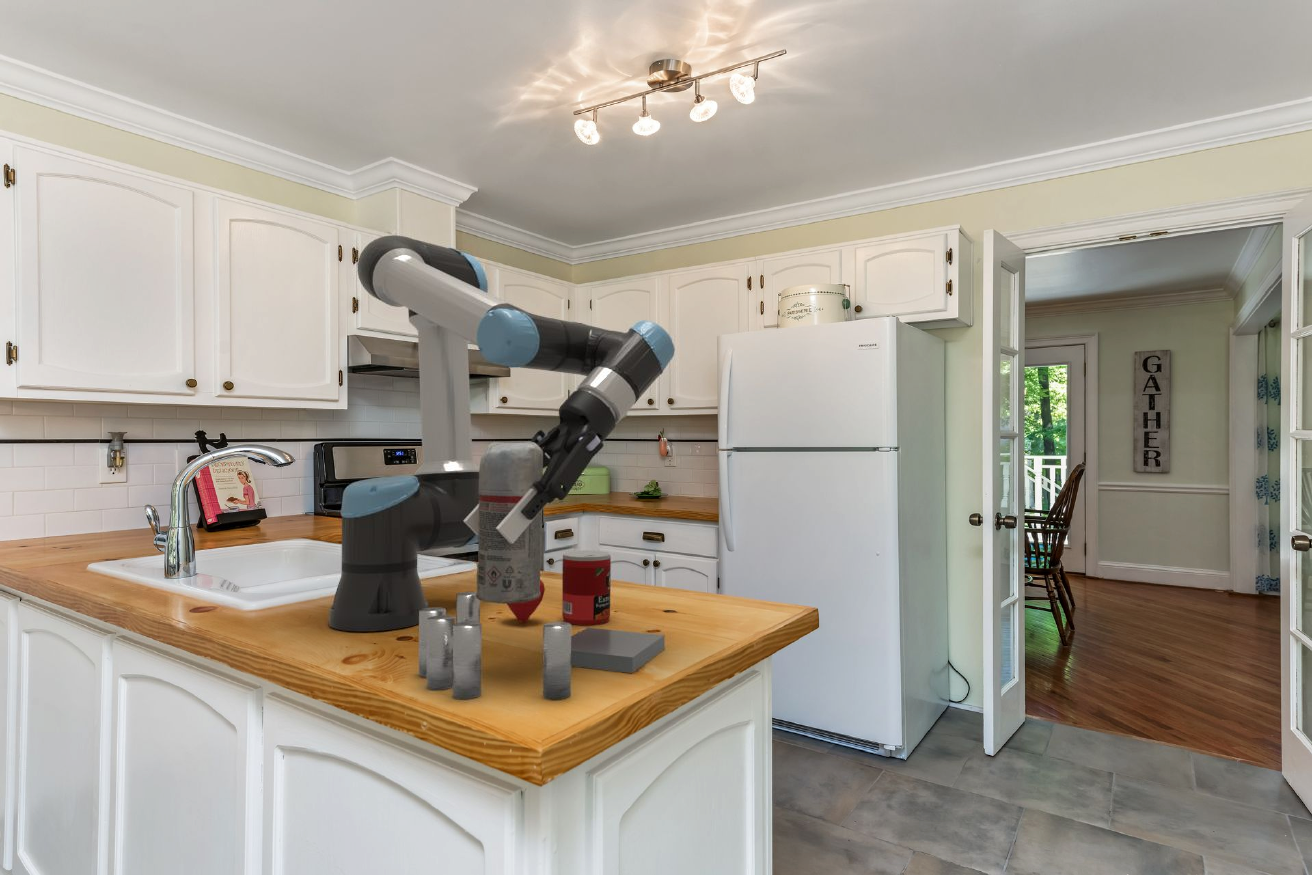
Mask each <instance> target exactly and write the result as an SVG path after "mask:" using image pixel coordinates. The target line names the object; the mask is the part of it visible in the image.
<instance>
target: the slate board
mask: <svg viewBox="0 0 1312 875" xmlns="http://www.w3.org/2000/svg"><path fill="white" fill-rule="evenodd" d="M665 637H666V636H665V634H655V633H649V632H648V633H646V632H637V631H627V630H619V629H618V630H617V629H615V630H614V629H607V628H606V629H605V628H595V627H585V628H584V629H582V630H580V631H578V632H577V633H575V634H573V635H571V667H578V668H584V669H585V668H586V669H592V670H593V669H595V670H603V671H612V672H618V673H619V672H621V673H628V674H633V673H635V672H636V671H638V670H639V669H640V668H642V667H643V666H644V665H645V664H647V663H648V662H650V661H651V660H652V659H654V658H656V656H658V655H659V654H660V653H662V652H663V651H665V647H666V646H665V644H666V643H665V642H666V641H665V639H666V638H665Z"/></svg>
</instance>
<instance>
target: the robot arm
mask: <svg viewBox="0 0 1312 875" xmlns="http://www.w3.org/2000/svg"><path fill="white" fill-rule="evenodd" d="M357 275H358V280H359V281H360V285H362V287H363V288H364V290H365V291H366V292H367V293H368V294H369V295H370V296H372V297H373V298H375V299H376V300H379V301H381V302H383V303H384V304H386V305H388V306H390V307H395V308H402V307H405V308H406V309H407V310H408V312H407V313H408V323H409V324H410V325H411V326H412V327H414V328H415V329H416V330H417V337H418V339H417V340H418V341H417V342H418V366H419V367H418V368H419V391H420V392H419V394H420V396H419V399H420V419H421V420H420V423H421V446H422V447H421V449H422V463H421V466H419V468H418V469H417V470H416V471H415V472H414V474H413V475H407V474H405V475H393V476H392V475H391V476H382V477H381V476H380V477H374V478H368V479H363V480H358V481H354V482H352V483H350V484H349V485H347V486H346V488H344V490H343V494H342V500H341V501H342V502H341V503H342V504H341V509H340V515H341V572H340V574H341V575H340V579H339V582H338V584H337V588H336V591H335V595H334V598H333V602H332V605H331V606H330V609H329V611H328V626H329V627H331V628H332V629H335V630H341V631H345V632H347V631H348V632H379V631H389V630H397V629H403V628H408V627H412V626H416V625H419V610H421V609H424V608H429V604H428V601H427V600H426V598H425V593H424V590H423V585H422V583H421V580H420V576H419V573H418V553H419V552H426V551H434V550H442V549H450V548H454V549H455V548H457V549H458V548H464V547H466V546H469V545H474V544H477V543H479V540H478V532H479V524H478V523H479V469H480V466H478V465H477V464H476V463H474V461H473V447H472V446H473V442H472V441H473V440H472V420H471V419H472V418H471V394H470V390H471V389H470V372H469V371H470V370H469V369H470V368H469V347H468V346H469V345H468V344H469V342H470V343H472V344H473V345H475V346H477V347H478V350H479V351H480V352H481V355H482V357H483V358H484V360H487V361H488V362H489V363H492V364H496V365H501V366H503V367H505V368H521V369H522V368H523V369H532V370H541V371H546V372H547V371H549V372H555V373H565V374H571V375H579V376H585V378H584V379H583V380H582V381H581V382H580V384H579V385H578V386H577V388H576V390H574V391H572V393H571V394H570V395H569V396H568V397H567V398H566V400H565V401H564V402H563V403H562V404H561V405H560V406H559V408H558V416H559V424H558V425H557V426H554V427H553V428H552V429H550V430H549V431H548V432H547V433H545V432H544V431H543V430H542V429H540V430H538V431H537V432H536V433H535V434H534V435H533V437H532V438H531V439H530V440H529V442H534V443H535V444H537V445H538V446H539V447H540V448H541V449H542V450H543V469H544V468H546V469H545V471H543V476H542V478H541V480H540V481H539V482H538V481H537V482H534V483H533V484H532V485H533V486H534V487H535V489H536V490H537V491H538V492H536V491H535V490H534V489H530V490H529V491H528V492H527V493H526V494H525V495H524V496H523V498H522V499H521V500H520V501H519V502H518V503H517V504H516V506H515V507H514V508H513V509H512V510H511V511H510V512H509V514H508V515H507V516H506V517H505V518H504V519H503V520H502V522H501V523H500V524H499V525H498V526H497V527H496V529H497V530H498V531H499V532H500V533H501V534H502V535H503V536H504V537H505V539H506V540H507V541H508V542H509V543H512V544H513V543H514V542H515V541H516V539H517V538H518V537H519V536H520V535H521V534H522V532H523V531H524V530H525V529H526V528H527V526H528V525H529V524H530V523H531V522H532V521H533V519H534V518H535V517H536V516H537V515H538V514H539V512H540V511H541V510H542V511H543V509H544V508H545V506H546V505H547V504H550V503H553V502H554V501H555V500H556V499H557V500H559V501H563V500H564V499H565V498H567V496H568V495H569V493H570V491H571V490H572V488H573V487H574V485H575V484H576V482H578V480H579V479H580V477H581V476H582V473H584V471H585V470H586V468H587V467H588V465H589V464H590V462H591V461H592V460H593V458H594V457H595V456H596V455H597V453H599V452H600V451H601V449H603V447H604V446H605V444H604V441H605V440H606V439H607V438H608V436H610V434H611V433H612V432H613V430H614V429H615V428H616V424H619V423H620V421H621V420H622V419H625V418H626V417H627V416H628V413H629V411H630V410H631V409H632V407H633V406H634V405H635V404H636V403H637V401H639V399H640V398H641V397H642V396H643V394H644V393H645V392H646V391H647V390H648V389H649V387H651V385H652V384H654V382H655V381H656V380H657V378H659V376H661V375H662V374H663V373H664V370H665V369H666V368H667V366H668V365H669V363H670V362H671V361H672V360H673V358H674V356H675V350H676V348H675V345H674V342H673V339H672V337H671V336H670V334H669V333H668V332H667V331H666V330H665V328H663V326H660V325H659V324H658V323H656V322H653V321H652V320H647V319H645V320H641V321H638V322H636V323H635V324H634V325H632V326H631V327H629V329H628V331H627V332H623V331H617V330H610V329H605V328H601V327H598V326H597V327H596V326H593V325H589V324H585V323H582V322H577V321H568V320H563V319H556V318H551V317H546V316H543V315H538V314H535V313H531V312H528V311H526V310H524V309H522V308H521V307H517V306H515V305H513V304H511V303H509V302H507V301H506V300H503V299H501V298H498V297H497V296H495V295H493V294H490V293H488V288H489V287H488V279H487V276H486V273H485V270H484V268H483V266H482V264H481V263H480V262H479V261H478V260H477V259H476V258H475V257H474V256H472V255H471V254H468V253H465V252H463V251H461V250H459V249H457V248H453V247H445V246H441V245H439V244H434V243H431V242H427V241H421V240H418V239H415V238H414V239H413V238H411V237H408V236H405V235H396V234H395V235H392V234H391V235H386V236H385V235H384V236H381V237H378V238H376V239H374V240H372V241H370V242H369V243H368V244H367V245H366V246H365V247H364V248H363V250H362V251H361V252H360V254H359V258H358V261H357ZM546 454H547V455H548V456H547V455H546Z"/></svg>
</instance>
